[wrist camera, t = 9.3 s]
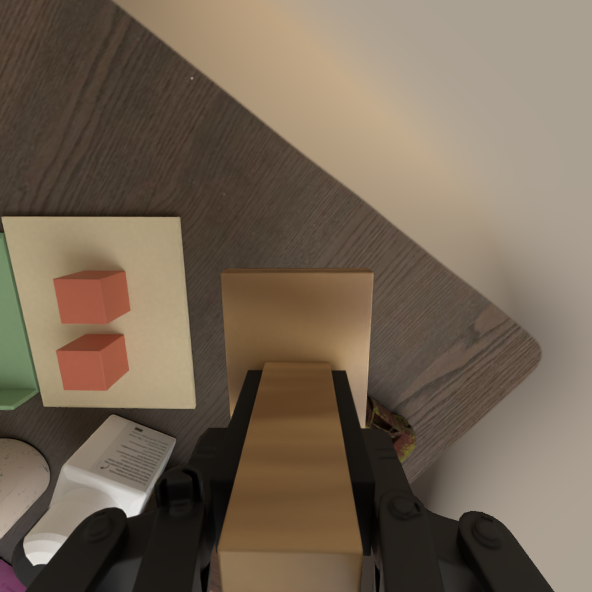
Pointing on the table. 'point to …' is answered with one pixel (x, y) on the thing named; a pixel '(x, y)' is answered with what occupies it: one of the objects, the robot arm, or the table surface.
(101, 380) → the cube
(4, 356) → the dustpan
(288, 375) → the brush
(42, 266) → the mat
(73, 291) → the cube
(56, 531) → the container
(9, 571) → the gum box
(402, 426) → the toy car
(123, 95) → the table surface
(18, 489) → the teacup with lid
